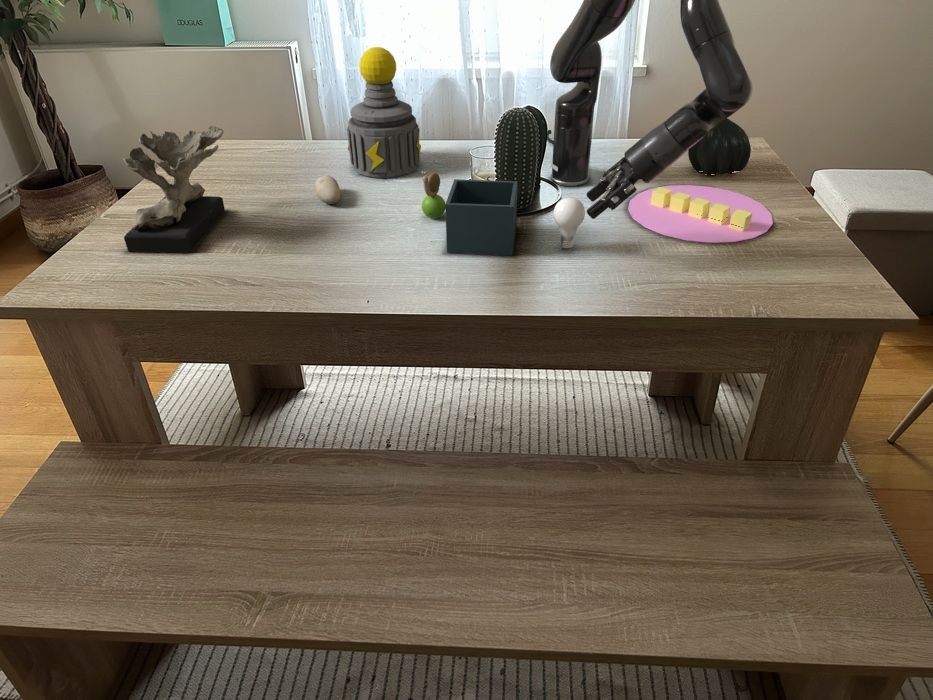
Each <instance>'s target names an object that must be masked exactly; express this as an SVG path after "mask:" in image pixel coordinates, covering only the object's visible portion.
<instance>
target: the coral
mask: <svg viewBox="0 0 933 700" xmlns="http://www.w3.org/2000/svg"><path fill="white" fill-rule="evenodd" d="M207 129H208V130H207V131H195V130H190V129H189V130H188V131H187V134H185V135H184V136H183V138H182V141H181V140H180V138H179V137H180V136H179V135H177V133H175V132H173V131H164V132H163V133H162V134H156V133H153V131H151V130H150V131H149V133H150V136H151V137H149V136H148V135H146V133H141V136H139V138H138V142H139V143H140V145H142V146H143V147H144V148H146V149H148V150H150V151H151V152H152V153H153V154H154V155H155V156H156V157H157V159H152V158H151V157H150V156H149V155H148V153H145V151H144V150H143V148H142V147H140V146H138V147H134V148H131V149H130V150H129V154H127V156H128V157H129V158H125V157H123V159H122V160H123V162H124V164H125V165H126V166H127V167H128V168H129V169H130V170H131V171H132V172H134V173H136V174H137V175H139V176H140V177H141V178H143V179H144V180H146V181H149V182H151V183H153V184H155V185H156V186H158V187H159V188H160V189H161V190H162V192H163V194H164V197H163V198H161V200H160V201H159V202H158V203H156V204H154V205H152V206H149V207H142V208H138V209H137V210H136V212H135V221H136V222H135V225H134V226H133V227H132V228H131V229H130V230H128V232H127V233H126V234H125V235H124V236H123V240H124V243H125V246H126V248H127V252H129V253H166V254H167V253H169V254H170V253H172V254H191V253H192V252H193V251H194V250H195V248H196V247H197V246H198V245H199V243H200V242H201V241H202V240H203V238H204V237H206V235H207V234H208V232H209V231H210V230H211V229H212V228H213V226H215V224H216V223H217V222H218V220H219V219H221V217H222V216H223V214H225V212H226V209H225V204H224V199H223V197H222V196H219V195H217V196H215V195H214V196H212V195H211V196H210V195H205V192H206V189H205V188H204V187H203V186H202V185H201V183H199V182H194V183H193V184H191V183H190V177H191V175H192V173H193V171H194V170H195V169H197V168H198V167H199V165H200V164H202V162H203V161H204V160H206V159H207V158H210V157H211V156H213V155H214V154H215V153H216V152H217V151H218V149H219V145H218V144H216V145H214V146H213V147H212V148H209V147H210V146H212V145H213V144H215V143H216V142H217V141H218V140H219V139H221V138H222V137H223V134H225V133H224V132H225V131H224V129H222V128H220V127H217V126H215V125H210V126H208V127H207ZM207 148H208V149H207ZM155 164H156V165H157V166H159V168H161V169H162V170H164V172H165V173H166V174H167V175H168V176H170V177H172V178H173V182H171V183H170V182H168V180H167V179H166V178H165V177H164V176H163V175H161V174H158V173H157V170H156V165H155Z"/></svg>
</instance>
